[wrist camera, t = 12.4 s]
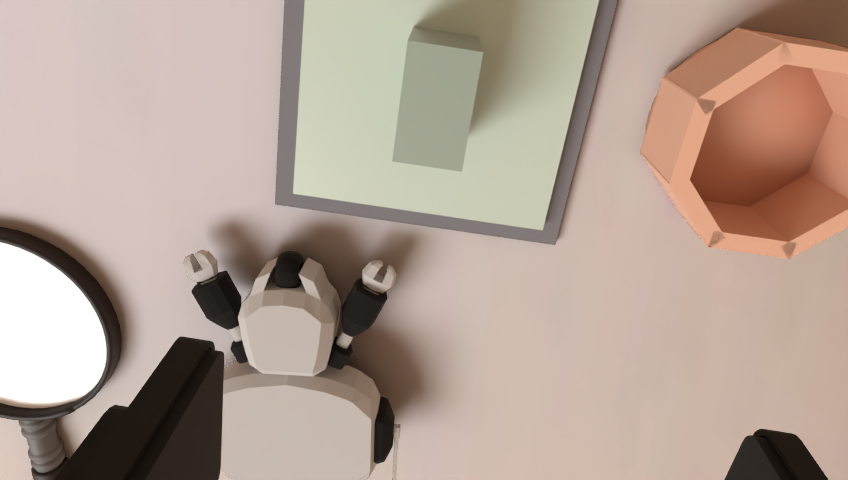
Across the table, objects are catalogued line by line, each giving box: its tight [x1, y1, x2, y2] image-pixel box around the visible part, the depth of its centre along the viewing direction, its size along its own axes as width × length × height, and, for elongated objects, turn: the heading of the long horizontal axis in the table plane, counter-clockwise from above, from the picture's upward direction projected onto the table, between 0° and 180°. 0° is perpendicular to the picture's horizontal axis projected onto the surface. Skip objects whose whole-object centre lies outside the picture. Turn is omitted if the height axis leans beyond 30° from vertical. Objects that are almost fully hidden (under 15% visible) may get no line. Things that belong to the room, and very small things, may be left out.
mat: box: [275, 0, 618, 245], centre depth 31 cm, size 15×15×1 cm
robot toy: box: [183, 250, 400, 480], centre depth 37 cm, size 12×4×15 cm
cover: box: [293, 0, 599, 230], centre depth 28 cm, size 13×13×5 cm
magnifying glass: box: [0, 227, 121, 480], centre depth 40 cm, size 12×24×2 cm, turn 179°
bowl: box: [640, 28, 848, 259], centre depth 29 cm, size 9×9×5 cm
